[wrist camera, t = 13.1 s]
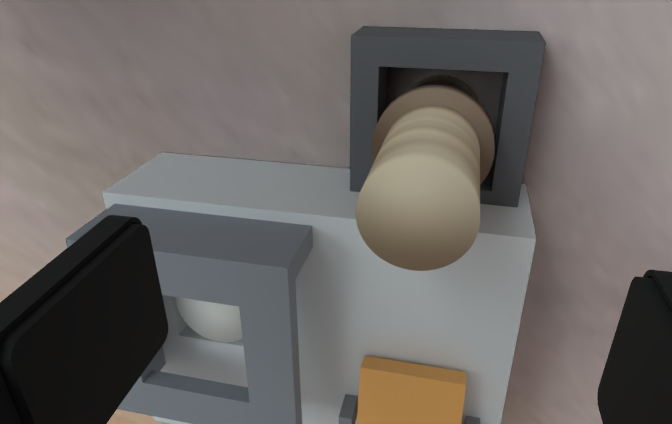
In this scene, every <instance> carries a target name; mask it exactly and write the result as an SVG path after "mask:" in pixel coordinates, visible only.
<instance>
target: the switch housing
mask: <svg viewBox="0 0 672 424" xmlns="http://www.w3.org/2000/svg"><path fill="white" fill-rule="evenodd" d="M359 193H360V192H352V191H350V169H348V168H336V167H325V166H314V165H302V164H291V163H279V162H268V161H256V160H245V159H234V158H222V157H211V156H199V155H188V154H177V153H165V152H161V153H159V154H158V155H156V156H155V157H153V158H152V159H150V160H149V161H148V162H146V163H145V164H143V165H142V166H140V167H139V168H137V169H136V170H134V171H133V172H131V173H130V174H128V175H127V176H125V177H124V178H122V179H121V180H119V181H118V182H116V183H115V184H113V185H112V186H110V187H109V188H107V189H106V190H104V191H103V192H102V194H103V199H104V203H105V207H106V210H105V211H103V212H102V213H101V214H99V215H98V216H97V217H95V218H94V219H92V220H91V221H90V222H88V223H87V224H86V225H84V226H83V227H81V228H80V229H79V230H77V231H76V232H74V233H73V234H72V235H70V236H69V237H68V238H66V239H65V240H66V244H67V248H68V247H69V246H71V245H72V244H73V243H74V242H76V241H77V240H78V239H79V238H80V237H82V236H83V235H84V234H85V233H87V232H88V231H89V230H90V229H92V228H93V227H94V226H95V225H96V224H98V223H99V222H100V221H101V220H103V219H104V218H105V217H107V216H108V215H119V216H129V217H137V218H138V219H140V221H141V222H142V225H145V226H147V228H148V229H149V232H150V237H151V242H152V247H153V252H154V257H155V262H156V267H157V272H158V277H159V282H160V287H161V292H162V297H163V302H164V307H165V312H166V316H167V321H168V335H167V338H166V341H165V342H164V344H163V345H162V347H161V348H160V350H159V351H158V352H157V354H156V355H155V357H154V358H153V359H152V361H151V362H150V364H149V365H148V366H147V368H146V369H145V370H144V372H143V373H142V375H141V376H140V377H139V379H138V380H137V382H136V383H135V384H134V386H133V387H132V389H131V390H130V391H129V393H128V394H127V396H126V397H125V398H124V400H123V401H122V403H121V404H120V405H119V407H118V408H117V409H121V410H126V411H131V412H136V413H141V414H146V415H151V416H153V419H154V420H155V421H159V422H164V423H169V424H357V412H358V396H359V381H360V367H361V364H362V361H363V358H364V356H371V357H377V358H383V359H389V360H395V361H401V362H408V363H414V364H420V365H426V366H432V367H439V368H445V369H451V370H457V371H463V372H466V390H465V398H464V406H463V414H462V422H461V424H501V419H502V413H503V408H504V403H505V398H506V393H507V388H508V382H509V377H510V372H511V367H512V362H513V357H514V352H515V346H516V341H517V336H518V331H519V326H520V321H521V315H522V310H523V305H524V300H525V295H526V290H527V285H528V279H529V274H530V269H531V264H532V259H533V254H534V248H535V243H536V234H535V229H534V224H533V219H532V213H531V208H530V203H529V198H528V192H527V187H526V184H522V185H521V191H520V197H519V203H518V207H507V206H497V205H487V204H480V227H479V231H478V234H477V237H476V239H475V241H474V243H473V245H472V246H471V248H470V249H469V250H468V251H467V252H466V253H465V254H464V255H463V256H462V257H461V258H460V259H458V260H457V261H455V262H453V263H452V264H450V265H447V266H445V267H442V268H439V269H435V270H429V271H414V270H407V269H403V268H400V267H397V266H394V265H392V264H390V263H388V262H386V261H384V260H383V259H381V258H380V257H378V256H377V255H376V254H375V253H374V252H373V251H372V250H371V249H370V248H369V247H368V246H367V245H366V243H365V242H364V240H363V238H362V237H361V235H360V232H359V230H358V227H357V222H356V214H355V211H356V203H357V199H358V196H359ZM176 297H179V298H186V299H192V300H199V301H206V302H212V303H219V304H226V305H232V306H239V309H240V319H241V328H242V337H243V339H241V340H238V341H235V342H217V341H213V340H210V339H207V338H205V337H203V336H201V335H200V334H198V333H197V332H195V331H194V330H193V329H191V328H190V327H189V326H188V325H187V323H186V322H185V321H184V320H183V318H182V317H181V315H180V313H179V311H178V308H177V304H176Z"/></svg>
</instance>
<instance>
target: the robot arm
mask: <svg viewBox="0 0 672 424" xmlns="http://www.w3.org/2000/svg"><path fill="white" fill-rule="evenodd" d="M167 335H168V321H167V316H166V312H165V307H164V302H163V297H162V292H161V287H160V282H159V277H158V272H157V267H156V262H155V257H154V252H153V247H152V242H151V237H150V232H149V229H148V228H147V226H145V225H142V222H141V221H140V219H138V218H137V217H129V216H119V215H108V216H107V217H105V218H104V219H103V220H101V221H100V222H99V223H98V224H96V225H95V226H94V227H93V228H92V229H90V230H89V231H88V232H87V233H85V234H84V235H83V236H82V237H80V238H79V239H78V240H77V241H76V242H74V243H73V244H72V245H71V246H69V247H68V248H67V249H66V250H64V251H63V252H62V253H61V254H60V255H58V256H57V257H56V258H55V259H53V260H52V261H51V262H50V263H48V264H47V265H46V266H45V267H44V268H42V269H41V270H40V271H39V272H37V273H36V274H35V275H34V276H33V277H31V278H30V279H29V280H28V281H26V282H25V283H24V284H23V285H21V286H20V287H19V288H18V289H17V290H15V291H14V292H13V293H12V294H10V295H9V296H8V297H7V298H5V299H4V300H3V301H2V302H1V303H0V424H106V423H107V422H108V421H109V419H110V418H111V416H112V415H113V414H114V412H115V411H116V409H117V408H118V407H119V405H120V404H121V403H122V401H123V400H124V398H125V397H126V396H127V394H128V393H129V391H130V390H131V389H132V387H133V386H134V384H135V383H136V382H137V380H138V379H139V377H140V376H141V375H142V373H143V372H144V370H145V369H146V368H147V366H148V365H149V364H150V362H151V361H152V359H153V358H154V357H155V355H156V354H157V352H158V351H159V350H160V348H161V347H162V345H163V344H164V342H165V341H166V338H167ZM598 407H599V411H600V414H601V418H602V422H603V424H672V272H667V271H657V270H648V271H647V272H646V273H645V274H644V276H643V277H634V279H633V280H632V282H631V285H630V288H629V291H628V294H627V297H626V301H625V304H624V307H623V310H622V314H621V317H620V320H619V323H618V326H617V330H616V333H615V336H614V339H613V342H612V346H611V349H610V352H609V355H608V359H607V362H606V365H605V368H604V371H603V375H602V378H601V381H600V384H599V388H598Z"/></svg>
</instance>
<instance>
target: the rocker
mask: <svg viewBox="0 0 672 424" xmlns="http://www.w3.org/2000/svg"><path fill="white" fill-rule="evenodd" d="M465 390H466V372H463V371H457V370H451V369H445V368H439V367H432V366H426V365H420V364H414V363H408V362H401V361H395V360H389V359H383V358H377V357H371V356H364V358H363V361H362V364H361V367H360V381H359V396H358V412H357V424H461V422H462V414H463V406H464V398H465Z"/></svg>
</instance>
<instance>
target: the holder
mask: <svg viewBox="0 0 672 424" xmlns="http://www.w3.org/2000/svg"><path fill="white" fill-rule="evenodd" d="M545 44H546V42H545V40H544V39H543V37H542V36H541V34H540V32H536V31H503V30H470V29H436V28H403V27H370V26H363V27H362V28H361V29H359V30H358V31H357V32H355V33H354V34H353V35H351V103H350V191H352V192H360V191H361V189H362V187H363V185H364V183H365V180H366V178H367V176H368V174H369V172H370V170H371V168H372V166H373V163H374V162H373V157H372V138H373V133H374V130H375V127H376V125H377V123H378V121H379V119H380V117H381V116H382V114H383V112H384V111H385V109H386V103H387V77H388V67H401V68H423V69H445V70H466V71H488V72H504V76H503V83H502V90H501V97H500V104H499V112H498V119H497V126H496V133H495V140H494V144H495V151H494V159H493V163H492V166H491V169H490V171H489V173H488V175H487V177H486V178H485V180H484V181H483V182H482V184H481V185H480V204H487V205H497V206H507V207H518V203H519V197H520V191H521V185H522V180H523V174H524V168H525V162H526V156H527V150H528V144H529V138H530V133H531V127H532V121H533V115H534V109H535V103H536V97H537V91H538V86H539V80H540V74H541V68H542V62H543V56H544V50H545Z"/></svg>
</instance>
